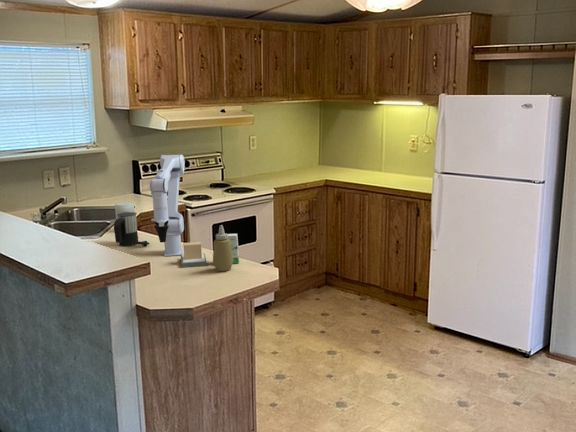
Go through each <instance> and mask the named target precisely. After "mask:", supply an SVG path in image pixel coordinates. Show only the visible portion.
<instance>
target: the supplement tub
mask: <svg viewBox="0 0 576 432" xmlns="http://www.w3.org/2000/svg"><path fill="white" fill-rule="evenodd" d="M114 210H115V211H114V212H115V213H114V214H115V221H116V220H117V219H118V215H117V214H119V213H125V212H135V204H134V202H131V201H121V202H117V203H115V205H114Z"/></svg>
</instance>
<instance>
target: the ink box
mask: <svg viewBox="0 0 576 432" xmlns="http://www.w3.org/2000/svg"><path fill="white" fill-rule="evenodd" d="M227 234H228V238H227V239H229V240H230V242H231V249H232V255H233V263H232V265H233V264H234V265H235V264H236V265H237V264H240V258H239V257H240V255H239V239H238V238H239V237H238V233H227Z"/></svg>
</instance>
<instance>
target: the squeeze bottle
mask: <svg viewBox="0 0 576 432" xmlns="http://www.w3.org/2000/svg"><path fill="white" fill-rule="evenodd" d="M228 234H229V233H227V232H226V233H225V229H224V226H223V224H221V225H220V224H219V228H218V233H216V234H215V239H214V240H213V251H212V262H213V265H214V268H215V270H216V271H218V272H227V271H231V270H232V267H233V264H232V263H233V255H232V249H231V242H230V240H229V239H227V238H228Z"/></svg>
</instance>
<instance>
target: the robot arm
mask: <svg viewBox="0 0 576 432" xmlns="http://www.w3.org/2000/svg"><path fill="white" fill-rule="evenodd" d="M185 164H186V161H185V157H184V155H183V154H161V156H160V159H159V166H160V169H158V170H157V172H156V175H155V176H154V178H153V179H150V180H149V191H150V195H151V198H152V206H153V207H152V208H153V209H152V210H153V218H151V219H150V220H151V221H152V222H154V224H155V225H154V228H155V230H156V232H157V236H158V240H159V243H164V250H163V256H164V257H168V256H169V257H170V256H171V257H172V256H181V255H183V254H184V250H183V248H182V237H181V234H182V233H183V232H184V230H185V224H184V216H183V215H182V214H181V213H180V212H179V211H178V209H179V193H180V192H179V191H180V180H181V176H183V175H184V174H185V173H184V172H185Z"/></svg>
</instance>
